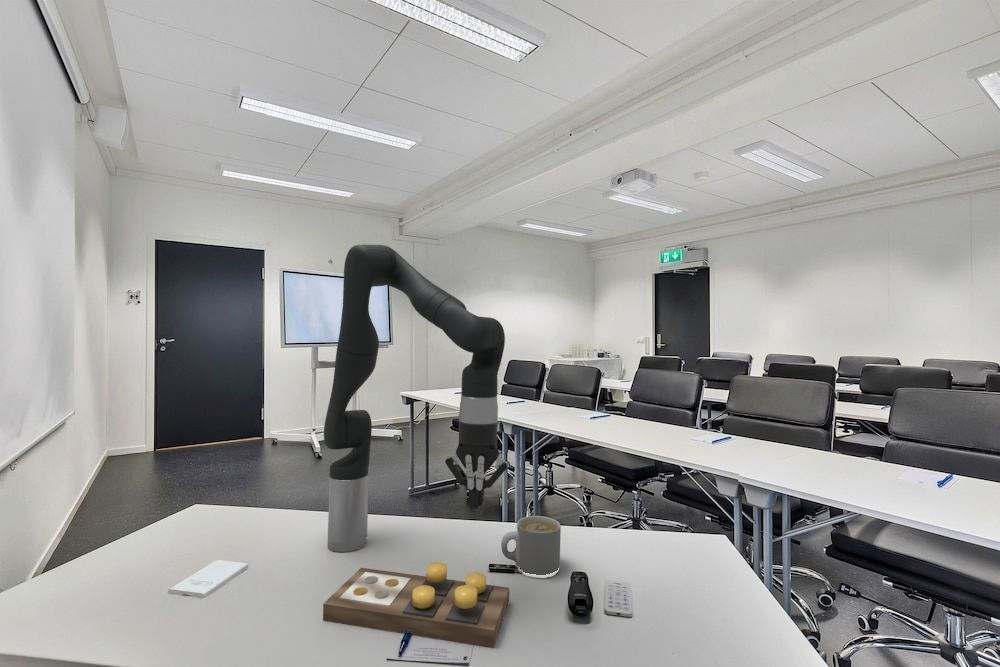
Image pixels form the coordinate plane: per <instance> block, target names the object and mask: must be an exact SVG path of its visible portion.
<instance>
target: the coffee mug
mask: <svg viewBox="0 0 1000 667" xmlns="http://www.w3.org/2000/svg"><path fill="white" fill-rule="evenodd" d="M561 528H562V526H561V523H560V522H559V521H557V520H556V519H554V518H551V517H548V516H541V515H531V516H530V515H529V516H525V517H521V518H520V519H519V520H518V521H517V523H516V529H517V530H515V531H509V532H506V533H504V535H503V536H502V539H501V545H500V546H501V547H500V548H501V552H502V554H503V556H504V558H506V559H508V560H511V561H513V562H514V563H515V564H516V565H517V566H519V567H520V568H521V569H522V570H523V572H525V573H529V574H536V575H546V574H550V573H553V572H555V571H557V570H558V568H559V566H560V565H561V564H560V563H561V562H560V561H561V560H560V559H561V531H562V530H561ZM511 540H514V541H515V548H514V550H513V551H509V550H508V543H509V542H510V541H511ZM516 565H515V566H516Z"/></svg>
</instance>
